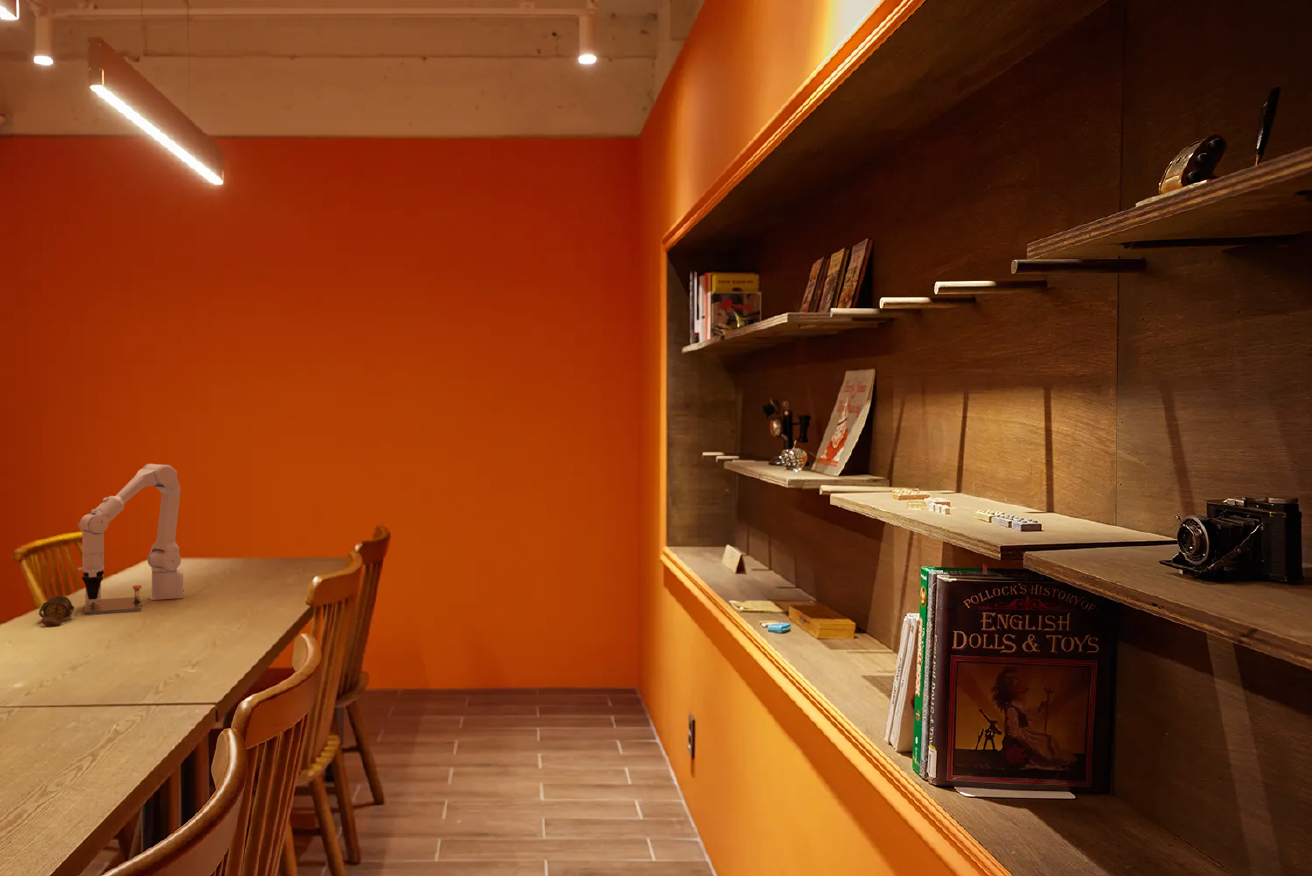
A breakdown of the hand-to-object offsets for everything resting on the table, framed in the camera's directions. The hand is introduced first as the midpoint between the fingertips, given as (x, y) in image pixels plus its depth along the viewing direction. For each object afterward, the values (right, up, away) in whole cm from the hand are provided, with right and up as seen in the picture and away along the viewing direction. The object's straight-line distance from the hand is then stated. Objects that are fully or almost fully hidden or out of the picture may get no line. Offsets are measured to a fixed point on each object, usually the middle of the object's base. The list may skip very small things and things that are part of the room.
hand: (93, 597), depth 298 cm
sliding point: (0, -2, 0) cm, 2 cm away
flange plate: (+5, -4, +3) cm, 6 cm away
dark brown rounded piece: (0, -4, -20) cm, 20 cm away
